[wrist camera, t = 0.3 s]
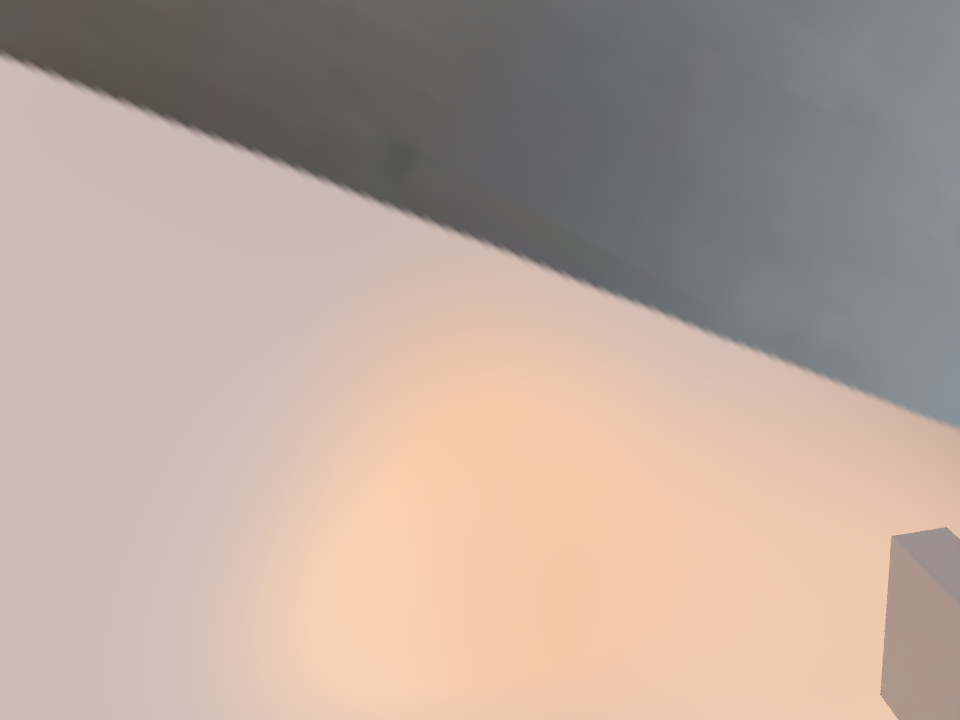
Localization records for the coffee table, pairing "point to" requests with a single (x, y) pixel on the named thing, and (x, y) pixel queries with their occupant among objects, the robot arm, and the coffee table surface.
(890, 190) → the coffee table surface
